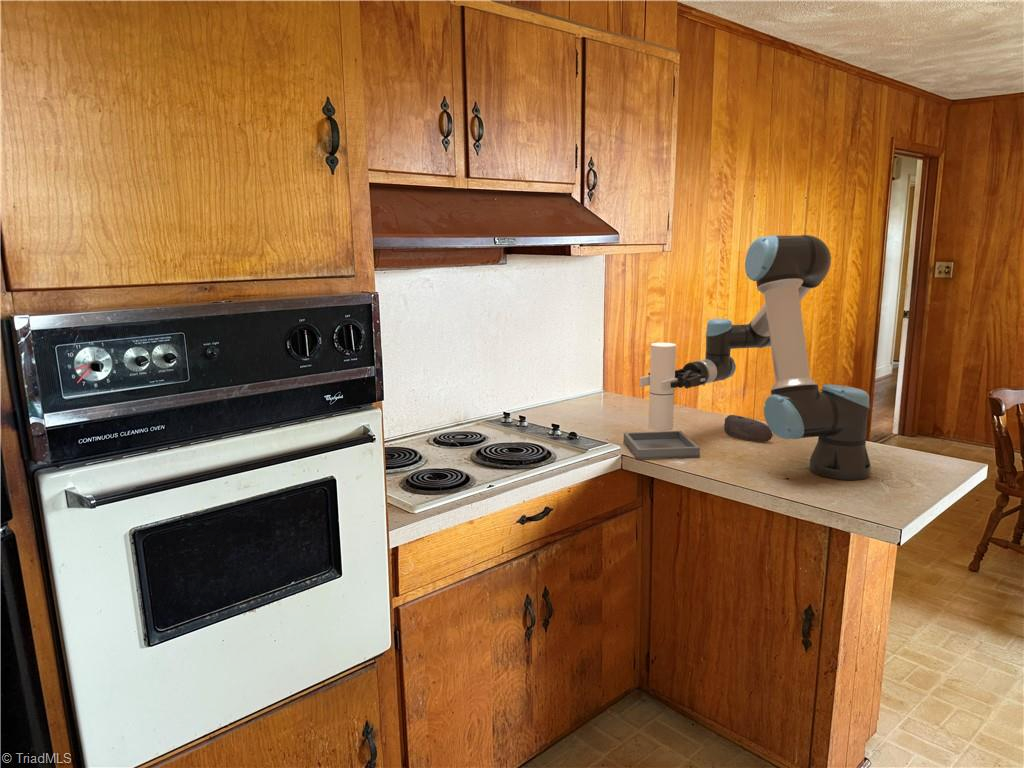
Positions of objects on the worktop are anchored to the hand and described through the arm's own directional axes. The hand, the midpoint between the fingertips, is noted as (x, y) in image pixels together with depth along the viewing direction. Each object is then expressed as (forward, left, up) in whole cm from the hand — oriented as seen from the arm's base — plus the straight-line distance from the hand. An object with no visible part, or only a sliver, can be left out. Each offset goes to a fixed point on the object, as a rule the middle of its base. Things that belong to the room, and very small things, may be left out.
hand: (651, 384), depth 210 cm
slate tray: (+3, -4, -21) cm, 21 cm away
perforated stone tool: (+10, -34, -21) cm, 41 cm away
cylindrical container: (+3, -4, -14) cm, 15 cm away
